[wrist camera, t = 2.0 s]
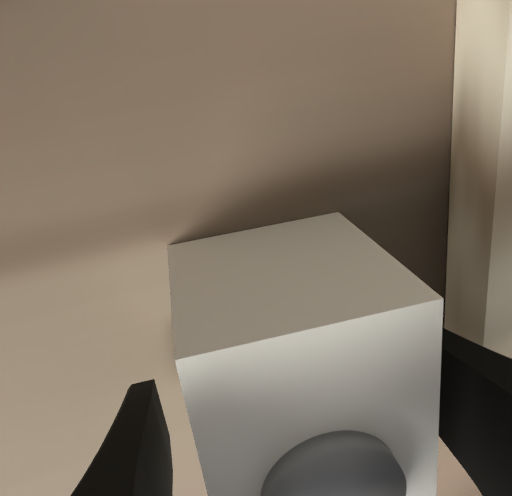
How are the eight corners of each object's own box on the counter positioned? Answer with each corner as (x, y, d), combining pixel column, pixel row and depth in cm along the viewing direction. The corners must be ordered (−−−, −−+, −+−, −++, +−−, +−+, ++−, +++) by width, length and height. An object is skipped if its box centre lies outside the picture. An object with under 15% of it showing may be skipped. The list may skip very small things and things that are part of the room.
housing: (350, 418, 17) (444, 591, 11) (214, 453, 16) (245, 655, 11) (336, 210, 14) (459, 311, 8) (167, 244, 13) (175, 378, 7)
